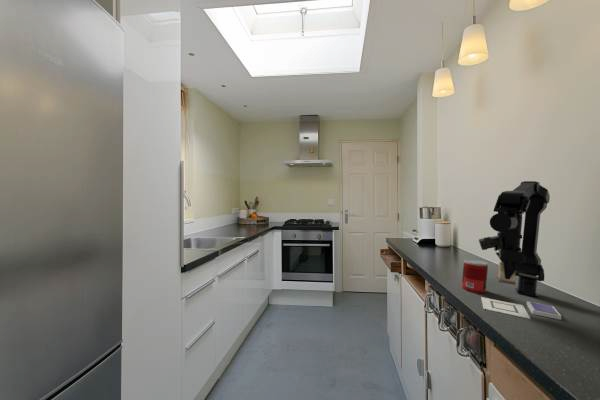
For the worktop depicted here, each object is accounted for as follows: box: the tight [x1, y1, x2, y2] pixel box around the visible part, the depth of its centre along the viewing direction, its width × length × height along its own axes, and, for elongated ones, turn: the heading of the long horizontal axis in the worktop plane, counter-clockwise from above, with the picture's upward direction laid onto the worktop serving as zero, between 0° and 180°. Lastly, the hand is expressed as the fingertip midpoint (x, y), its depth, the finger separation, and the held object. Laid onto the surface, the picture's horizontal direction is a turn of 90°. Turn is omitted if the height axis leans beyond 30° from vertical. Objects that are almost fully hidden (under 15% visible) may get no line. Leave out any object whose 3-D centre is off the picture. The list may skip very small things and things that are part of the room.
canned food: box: [461, 259, 489, 294], centre depth 113 cm, size 8×8×11 cm
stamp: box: [496, 261, 516, 286], centre depth 95 cm, size 4×4×7 cm
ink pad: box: [526, 300, 562, 321], centre depth 94 cm, size 9×7×1 cm
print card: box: [480, 296, 531, 320], centre depth 96 cm, size 12×12×1 cm
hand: (506, 277), depth 96 cm, fingers closed on stamp, 4 cm apart
